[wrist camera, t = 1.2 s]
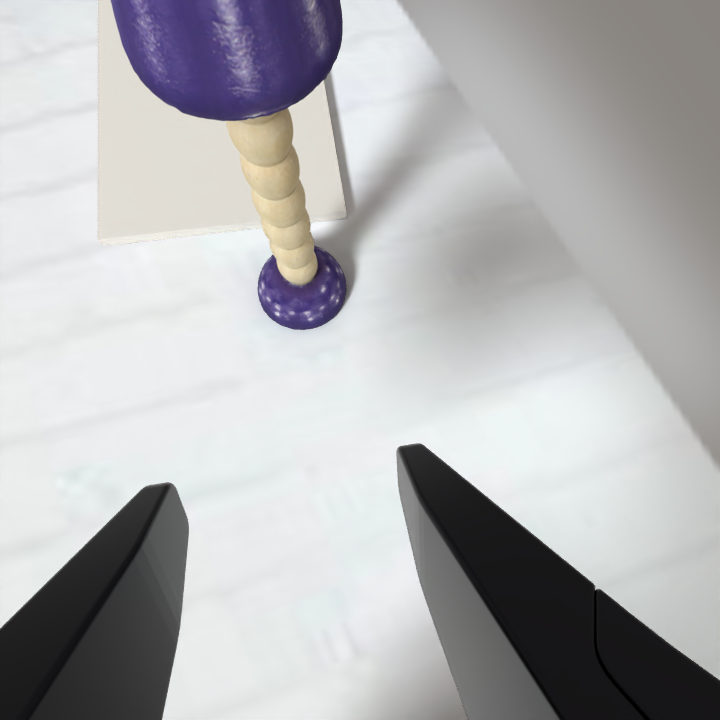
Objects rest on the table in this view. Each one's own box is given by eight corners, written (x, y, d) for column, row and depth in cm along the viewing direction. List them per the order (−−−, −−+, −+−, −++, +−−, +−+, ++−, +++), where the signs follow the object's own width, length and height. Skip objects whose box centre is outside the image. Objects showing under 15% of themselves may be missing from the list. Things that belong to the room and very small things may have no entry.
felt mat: (346, 218, 23) (346, 211, 23) (104, 246, 22) (97, 239, 22) (307, -10, 28) (306, -21, 27) (103, 5, 27) (97, -6, 26)
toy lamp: (266, 348, 21) (41, -94, 5) (232, 265, 22) (-38, -305, 6) (360, 310, 22) (411, -177, 6) (322, 232, 23) (281, -355, 7)
